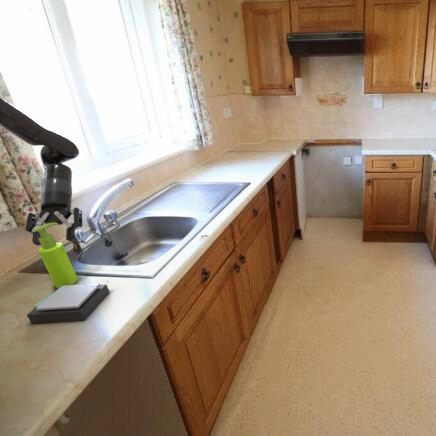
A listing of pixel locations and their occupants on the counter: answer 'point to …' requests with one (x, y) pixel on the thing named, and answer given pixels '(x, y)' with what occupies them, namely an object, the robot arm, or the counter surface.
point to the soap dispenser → (55, 258)
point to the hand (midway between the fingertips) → (53, 242)
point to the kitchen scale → (69, 303)
